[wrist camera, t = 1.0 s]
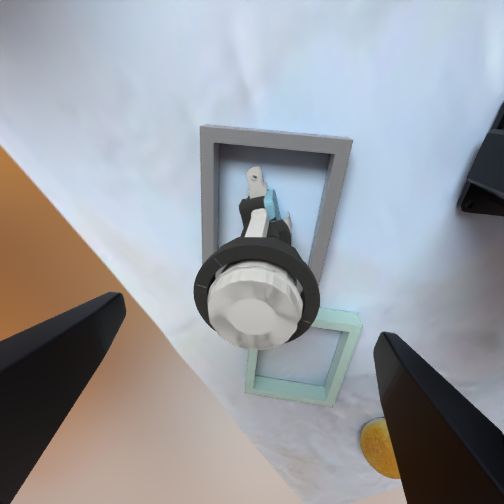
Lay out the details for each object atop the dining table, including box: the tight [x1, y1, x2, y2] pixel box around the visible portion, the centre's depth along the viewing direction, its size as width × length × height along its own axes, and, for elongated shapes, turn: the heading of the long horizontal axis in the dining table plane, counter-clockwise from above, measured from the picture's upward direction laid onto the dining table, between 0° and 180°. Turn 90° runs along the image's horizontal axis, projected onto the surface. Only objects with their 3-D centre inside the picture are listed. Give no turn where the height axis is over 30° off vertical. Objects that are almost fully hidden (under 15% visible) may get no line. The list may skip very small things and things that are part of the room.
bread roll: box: [360, 418, 401, 479], centre depth 27 cm, size 8×9×4 cm
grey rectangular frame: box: [200, 125, 353, 292], centre depth 18 cm, size 9×11×2 cm
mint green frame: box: [245, 308, 363, 407], centre depth 24 cm, size 9×11×2 cm
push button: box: [194, 166, 320, 350], centre depth 14 cm, size 7×5×10 cm
